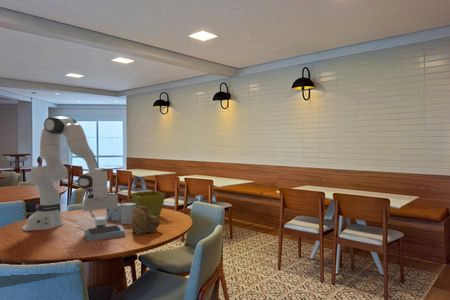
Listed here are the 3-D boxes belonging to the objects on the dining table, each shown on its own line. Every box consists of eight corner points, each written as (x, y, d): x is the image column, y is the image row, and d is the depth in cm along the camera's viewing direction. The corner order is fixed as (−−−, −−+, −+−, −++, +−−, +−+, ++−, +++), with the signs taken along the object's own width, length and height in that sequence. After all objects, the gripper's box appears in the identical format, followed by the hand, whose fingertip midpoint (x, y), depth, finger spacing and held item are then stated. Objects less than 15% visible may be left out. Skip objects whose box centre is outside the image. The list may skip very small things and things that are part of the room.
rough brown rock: (157, 238, 185) (159, 212, 185) (127, 236, 183) (129, 210, 184) (160, 228, 208) (162, 205, 209) (134, 227, 207) (136, 203, 207)
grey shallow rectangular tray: (87, 241, 177) (87, 234, 177) (84, 234, 190) (84, 228, 190) (124, 235, 187) (124, 229, 187) (119, 229, 199) (119, 224, 199)
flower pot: (165, 217, 232) (165, 193, 231) (139, 221, 221) (139, 196, 221) (155, 212, 248) (155, 190, 247) (130, 215, 237) (130, 192, 236)
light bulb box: (106, 219, 225) (105, 204, 225) (112, 217, 231) (112, 202, 231) (118, 221, 221) (118, 205, 221) (125, 219, 227) (124, 203, 227)
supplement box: (131, 224, 213) (131, 205, 212) (121, 223, 214) (120, 204, 214) (136, 221, 220) (136, 203, 219) (126, 221, 221) (126, 202, 221)
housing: (97, 231, 197) (97, 219, 197) (95, 228, 204) (95, 217, 204) (105, 230, 199) (105, 218, 199) (103, 227, 206) (103, 216, 206)
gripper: (116, 191, 209) (117, 213, 209) (82, 195, 199) (82, 217, 199) (118, 193, 203) (119, 215, 203) (83, 196, 193) (84, 219, 193)
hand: (101, 216), depth 201 cm, fingers open, 8 cm apart
